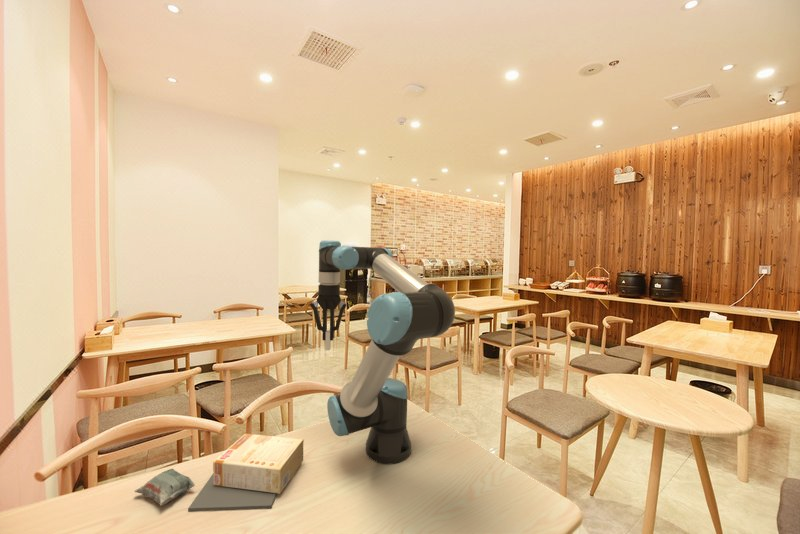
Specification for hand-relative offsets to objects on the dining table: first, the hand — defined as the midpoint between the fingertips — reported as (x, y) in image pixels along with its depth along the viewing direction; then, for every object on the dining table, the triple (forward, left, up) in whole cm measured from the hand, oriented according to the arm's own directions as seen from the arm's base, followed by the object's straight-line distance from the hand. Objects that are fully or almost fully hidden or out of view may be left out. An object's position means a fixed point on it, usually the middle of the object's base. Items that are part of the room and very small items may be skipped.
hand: (327, 349), depth 120 cm
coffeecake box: (+6, +25, -26) cm, 37 cm away
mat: (+19, +26, -30) cm, 45 cm away
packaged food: (+38, +30, -31) cm, 57 cm away
